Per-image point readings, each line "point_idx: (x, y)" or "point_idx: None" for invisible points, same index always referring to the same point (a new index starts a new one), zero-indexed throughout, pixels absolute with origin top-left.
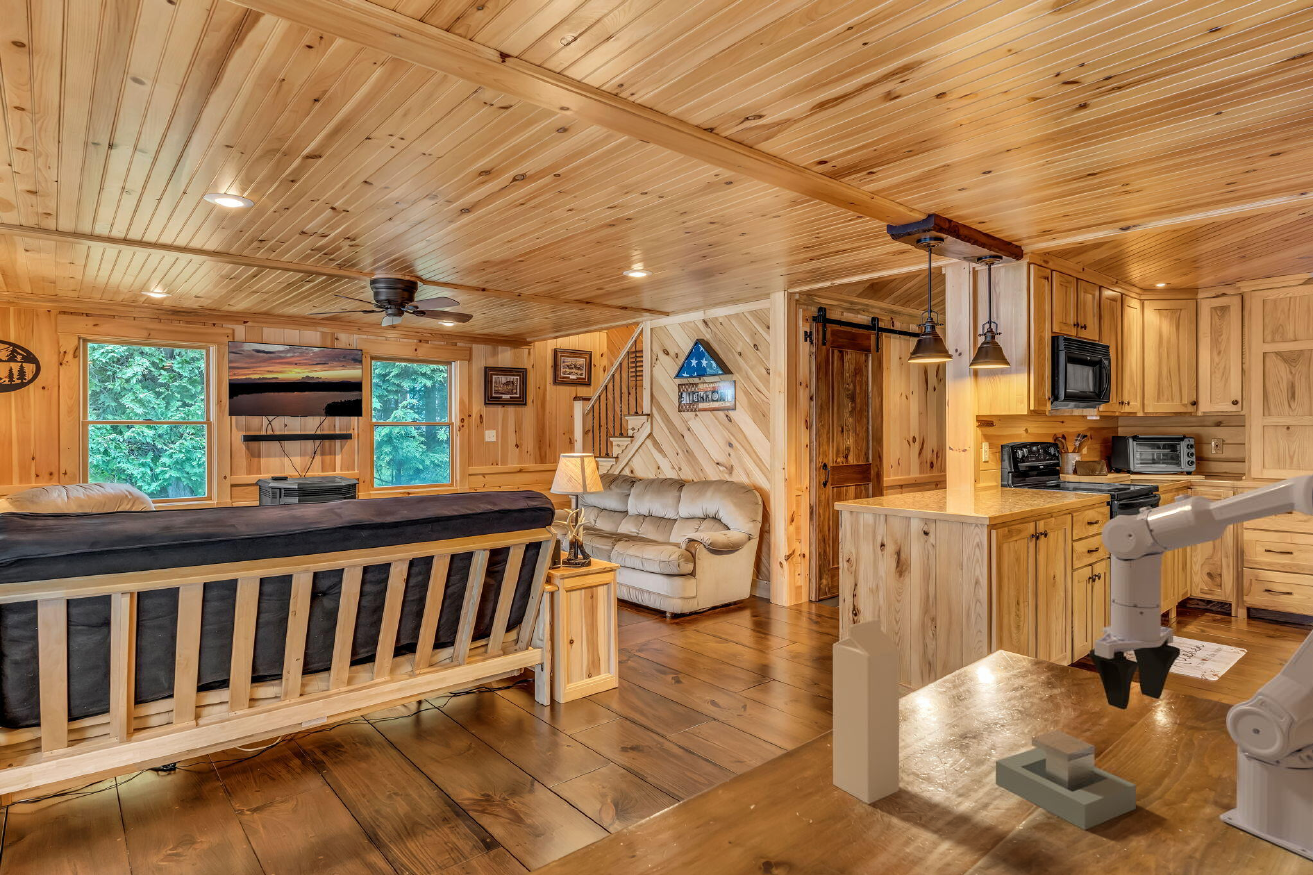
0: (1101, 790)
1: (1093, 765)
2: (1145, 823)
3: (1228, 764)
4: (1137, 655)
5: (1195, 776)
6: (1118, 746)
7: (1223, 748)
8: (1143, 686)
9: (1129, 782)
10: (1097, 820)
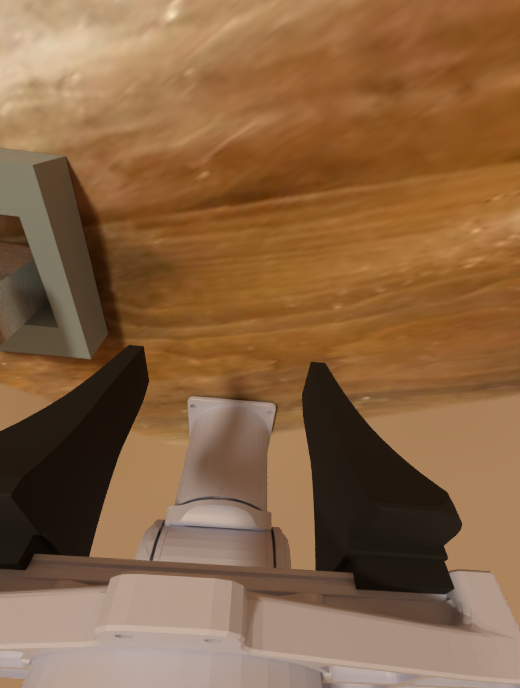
0: (10, 339)
1: (20, 324)
2: None
3: (399, 352)
4: (342, 466)
5: (304, 341)
6: (333, 205)
7: (476, 328)
8: (312, 384)
9: (86, 351)
10: None
